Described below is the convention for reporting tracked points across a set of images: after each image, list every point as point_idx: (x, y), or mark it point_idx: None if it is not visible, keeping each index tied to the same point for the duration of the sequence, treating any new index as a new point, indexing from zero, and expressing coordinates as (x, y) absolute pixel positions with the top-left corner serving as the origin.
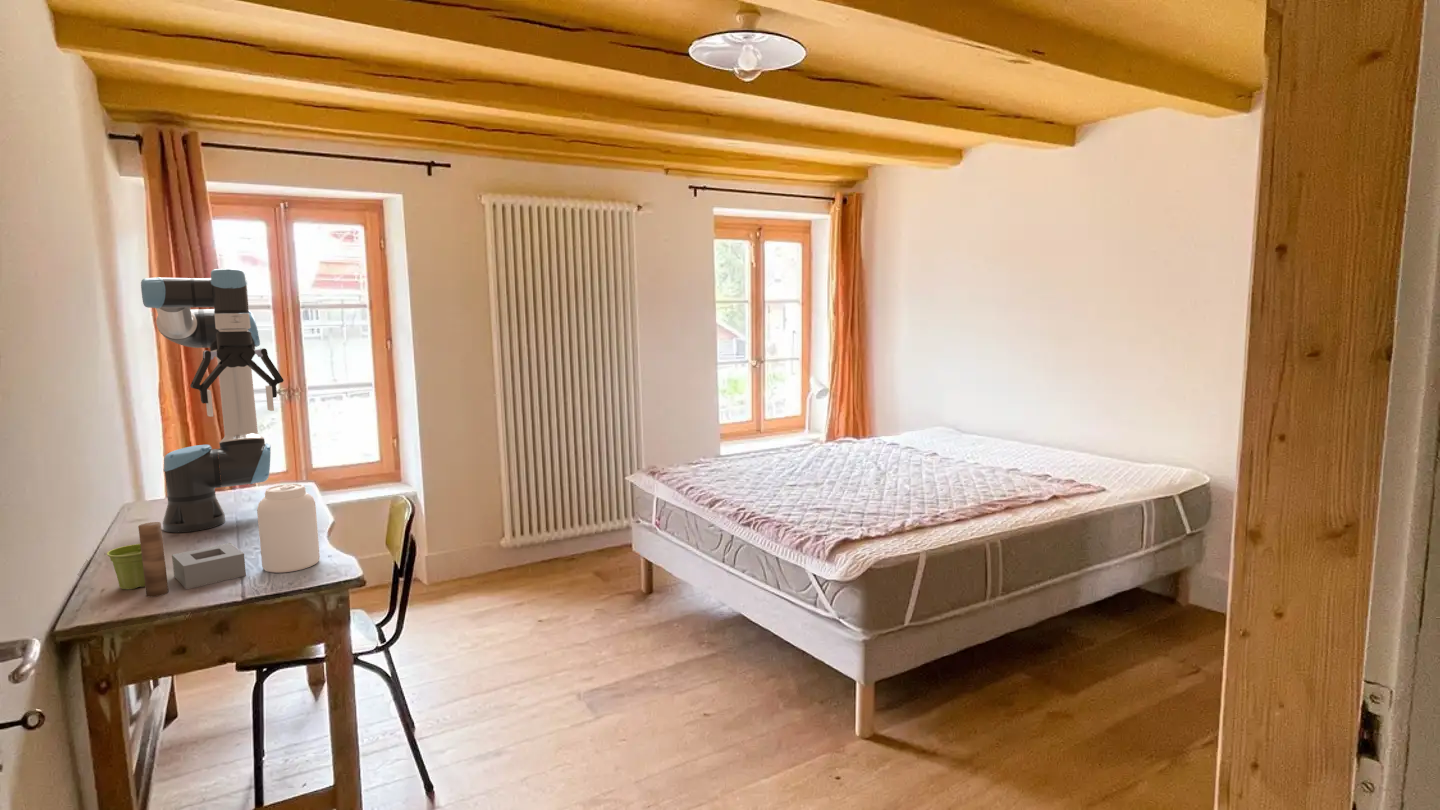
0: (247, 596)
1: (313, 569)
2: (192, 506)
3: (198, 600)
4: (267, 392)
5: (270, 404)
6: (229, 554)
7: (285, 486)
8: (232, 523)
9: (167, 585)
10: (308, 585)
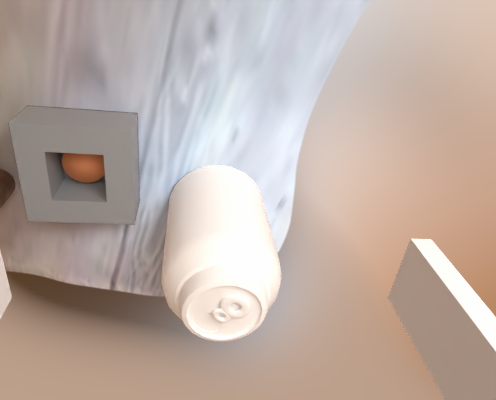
0: (117, 287)
1: None
2: None
3: (55, 257)
4: (480, 392)
5: (409, 335)
6: (111, 212)
7: (227, 312)
8: None
9: (9, 194)
10: None
